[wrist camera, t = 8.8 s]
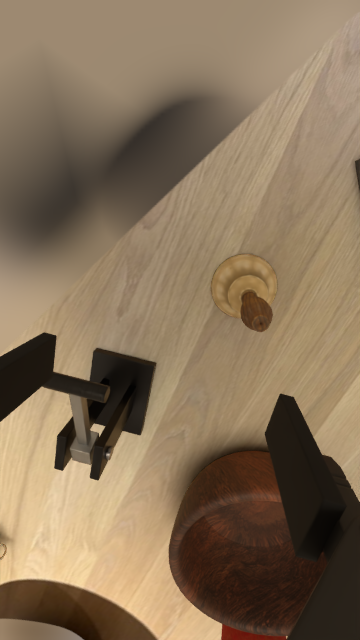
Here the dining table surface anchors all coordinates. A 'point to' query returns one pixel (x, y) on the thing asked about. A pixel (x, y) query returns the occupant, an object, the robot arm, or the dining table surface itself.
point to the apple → (245, 635)
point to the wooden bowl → (240, 548)
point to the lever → (80, 411)
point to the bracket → (111, 406)
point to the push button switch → (358, 170)
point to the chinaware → (5, 550)
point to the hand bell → (246, 290)
